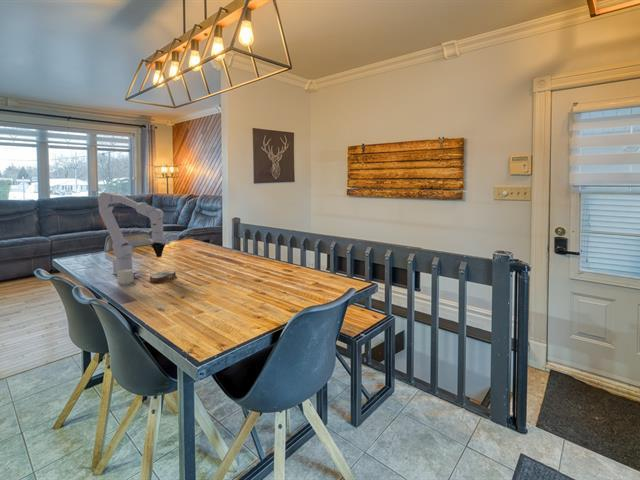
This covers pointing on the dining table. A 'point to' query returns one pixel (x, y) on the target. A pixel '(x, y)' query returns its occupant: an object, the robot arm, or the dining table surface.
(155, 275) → the tin
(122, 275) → the grey block
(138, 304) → the dining table surface
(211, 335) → the dining table surface
